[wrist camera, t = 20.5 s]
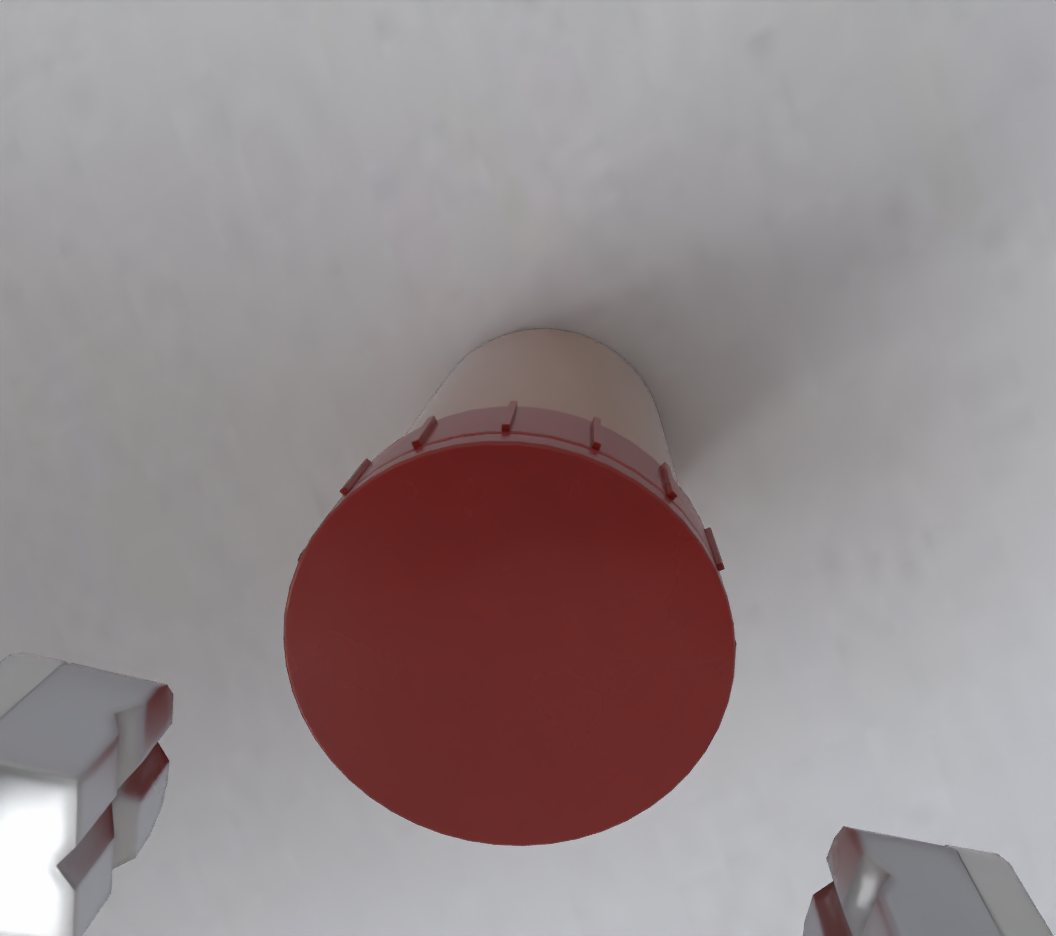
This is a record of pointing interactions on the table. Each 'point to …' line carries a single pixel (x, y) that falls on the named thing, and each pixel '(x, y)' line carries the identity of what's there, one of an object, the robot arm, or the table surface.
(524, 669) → the jar lid
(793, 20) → the table surface
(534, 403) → the jam jar
